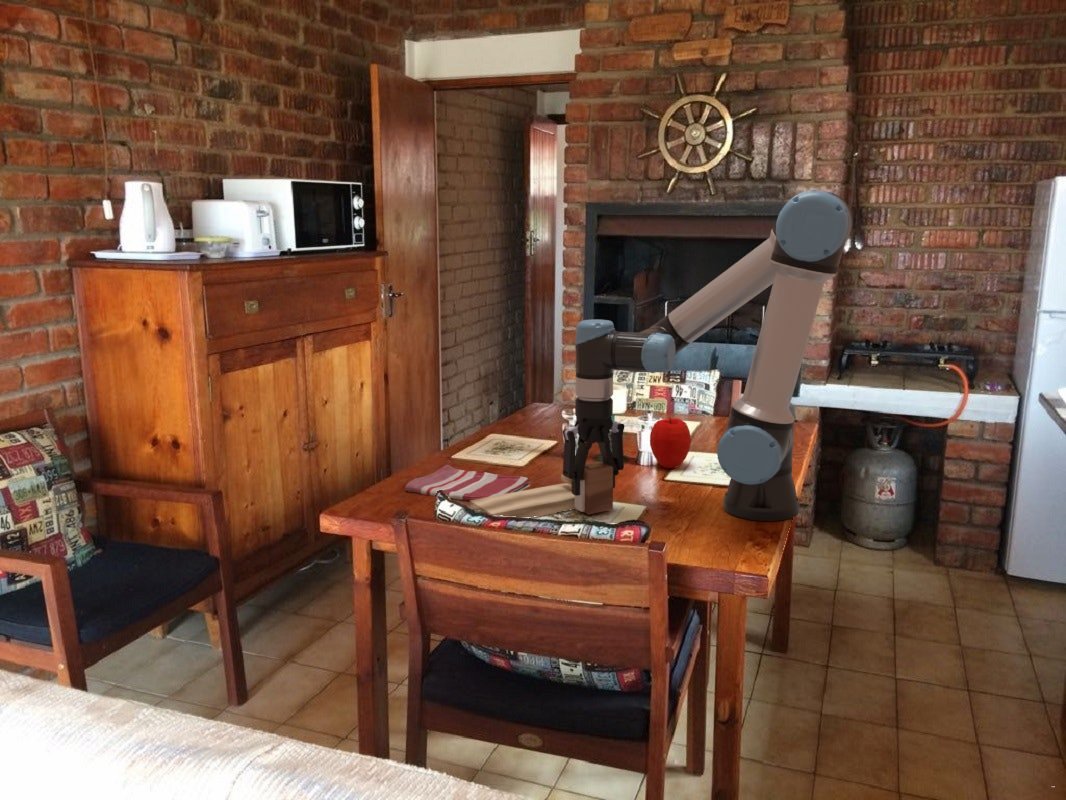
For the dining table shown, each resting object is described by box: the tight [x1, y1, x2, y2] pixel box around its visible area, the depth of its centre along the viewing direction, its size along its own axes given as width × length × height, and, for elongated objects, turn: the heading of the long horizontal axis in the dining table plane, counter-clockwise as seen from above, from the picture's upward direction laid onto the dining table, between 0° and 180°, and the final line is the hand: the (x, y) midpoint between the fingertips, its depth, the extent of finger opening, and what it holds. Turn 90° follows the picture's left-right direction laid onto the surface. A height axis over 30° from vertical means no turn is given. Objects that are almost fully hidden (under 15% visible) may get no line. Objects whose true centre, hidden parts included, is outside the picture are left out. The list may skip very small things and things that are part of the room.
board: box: [469, 482, 576, 519], centre depth 189 cm, size 10×28×2 cm, turn 120°
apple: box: [649, 417, 692, 469], centre depth 217 cm, size 10×10×12 cm
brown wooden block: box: [560, 461, 614, 515], centre depth 189 cm, size 14×6×9 cm, turn 29°
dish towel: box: [404, 464, 531, 503], centre depth 202 cm, size 17×23×3 cm
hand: (593, 506), depth 186 cm, fingers closed on brown wooden block, 6 cm apart
